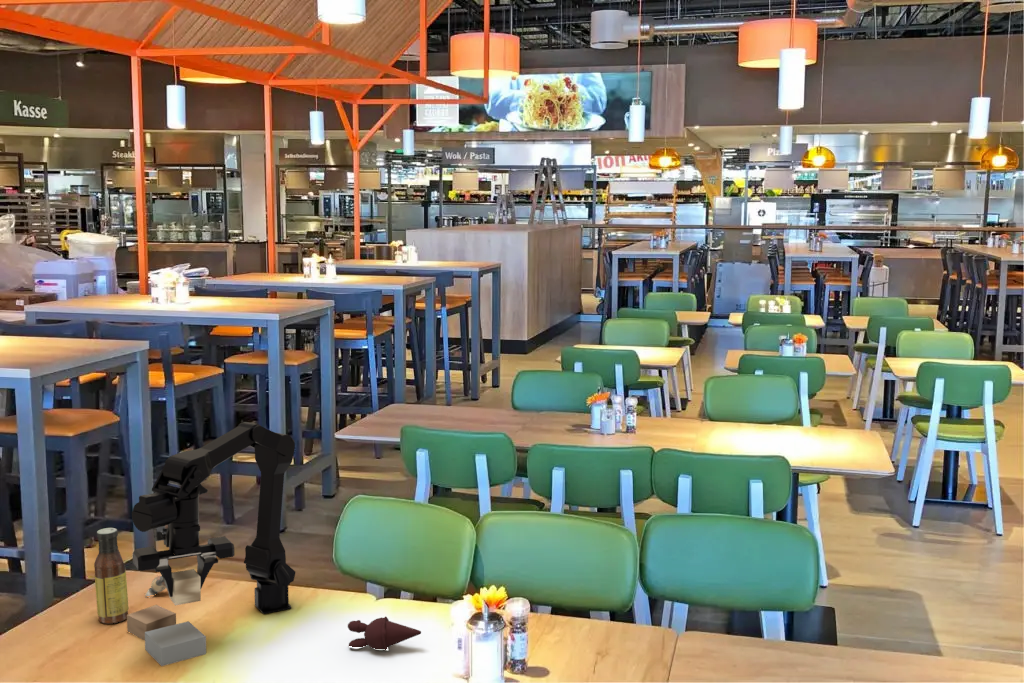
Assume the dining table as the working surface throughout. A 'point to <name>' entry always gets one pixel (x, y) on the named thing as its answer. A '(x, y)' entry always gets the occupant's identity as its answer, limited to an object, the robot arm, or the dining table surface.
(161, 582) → the vase
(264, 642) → the dining table surface
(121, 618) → the sauce bottle
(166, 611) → the walnut block
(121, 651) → the dining table surface
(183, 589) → the birch cube
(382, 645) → the icecream
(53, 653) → the dining table surface
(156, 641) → the slate block
